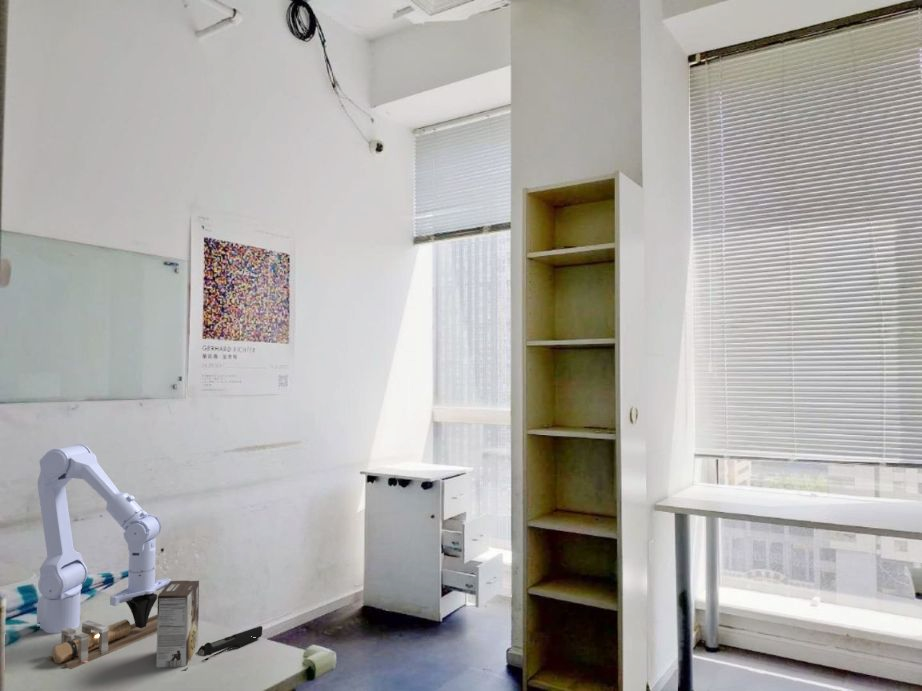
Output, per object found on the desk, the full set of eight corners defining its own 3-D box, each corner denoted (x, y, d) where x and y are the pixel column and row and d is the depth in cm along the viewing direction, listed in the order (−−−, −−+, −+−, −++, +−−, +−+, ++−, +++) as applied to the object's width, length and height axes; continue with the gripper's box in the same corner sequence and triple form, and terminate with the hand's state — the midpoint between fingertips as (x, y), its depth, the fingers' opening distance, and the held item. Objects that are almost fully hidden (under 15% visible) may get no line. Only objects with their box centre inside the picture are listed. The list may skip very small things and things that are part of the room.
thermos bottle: (64, 663, 136) (61, 644, 136) (53, 664, 137) (51, 646, 138) (132, 634, 150) (129, 618, 151) (121, 636, 152) (119, 620, 152)
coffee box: (168, 653, 144) (170, 580, 145) (198, 651, 145) (200, 579, 146) (154, 672, 135) (156, 595, 136) (186, 671, 136) (188, 594, 137)
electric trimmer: (266, 641, 152) (266, 627, 152) (203, 663, 140) (204, 648, 141) (256, 636, 155) (257, 623, 155) (194, 658, 143) (195, 643, 143)
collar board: (45, 664, 139) (46, 633, 139) (155, 620, 162) (155, 594, 162) (70, 674, 134) (71, 642, 134) (179, 627, 158) (180, 601, 158)
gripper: (124, 580, 145) (122, 641, 145) (179, 563, 158) (178, 619, 158) (104, 575, 149) (103, 635, 149) (160, 558, 162) (159, 613, 161)
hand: (140, 626), depth 153 cm, fingers closed
